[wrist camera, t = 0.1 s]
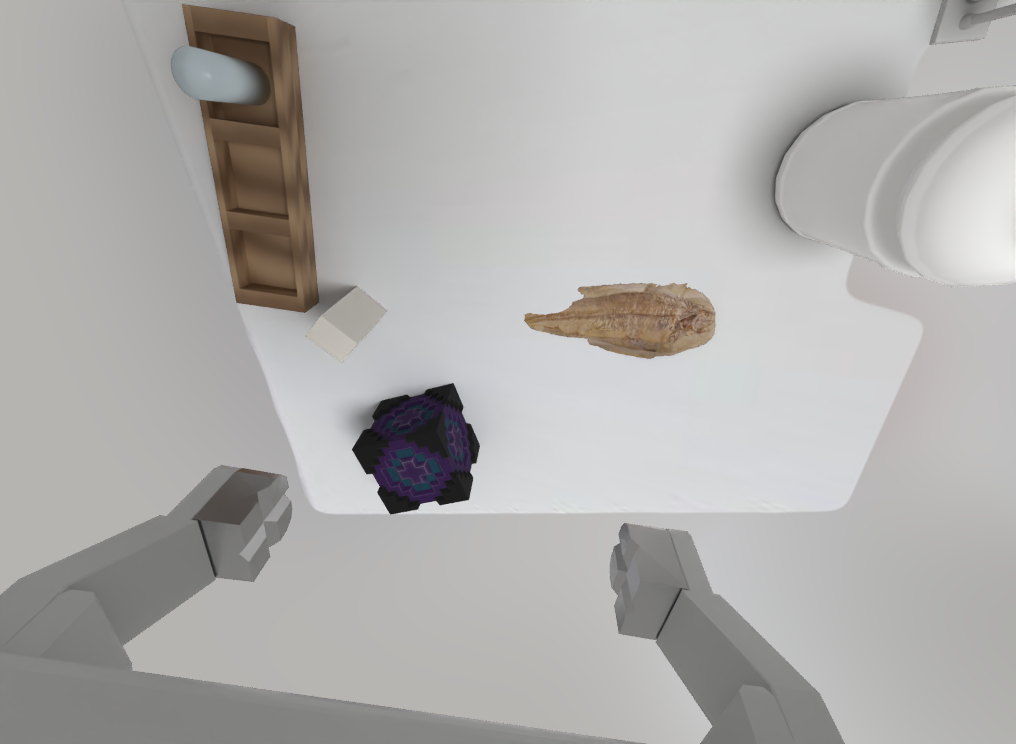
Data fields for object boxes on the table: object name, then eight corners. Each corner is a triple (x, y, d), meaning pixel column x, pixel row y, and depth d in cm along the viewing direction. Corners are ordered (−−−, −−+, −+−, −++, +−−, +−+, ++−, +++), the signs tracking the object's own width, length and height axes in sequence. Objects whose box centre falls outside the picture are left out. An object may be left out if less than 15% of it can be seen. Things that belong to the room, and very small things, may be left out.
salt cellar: (230, 59, 46) (166, 42, 38) (268, 64, 46) (211, 49, 38) (237, 103, 48) (177, 96, 40) (273, 108, 48) (220, 102, 40)
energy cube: (479, 445, 70) (468, 499, 60) (412, 459, 73) (390, 514, 62) (453, 382, 65) (436, 430, 54) (381, 400, 67) (351, 449, 57)
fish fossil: (521, 350, 62) (521, 353, 61) (520, 278, 58) (520, 280, 57) (710, 351, 60) (712, 354, 58) (723, 277, 55) (726, 278, 54)
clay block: (357, 286, 59) (320, 315, 49) (387, 310, 60) (357, 343, 50) (343, 304, 60) (305, 336, 50) (373, 327, 61) (341, 363, 52)
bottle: (931, 96, 45) (1408, 47, 20) (884, 235, 51) (1200, 326, 27) (787, 106, 46) (1069, 71, 21) (759, 240, 52) (950, 333, 28)
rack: (209, 14, 46) (181, 4, 42) (294, 26, 46) (274, 17, 42) (254, 292, 60) (236, 302, 57) (318, 302, 60) (304, 312, 57)
